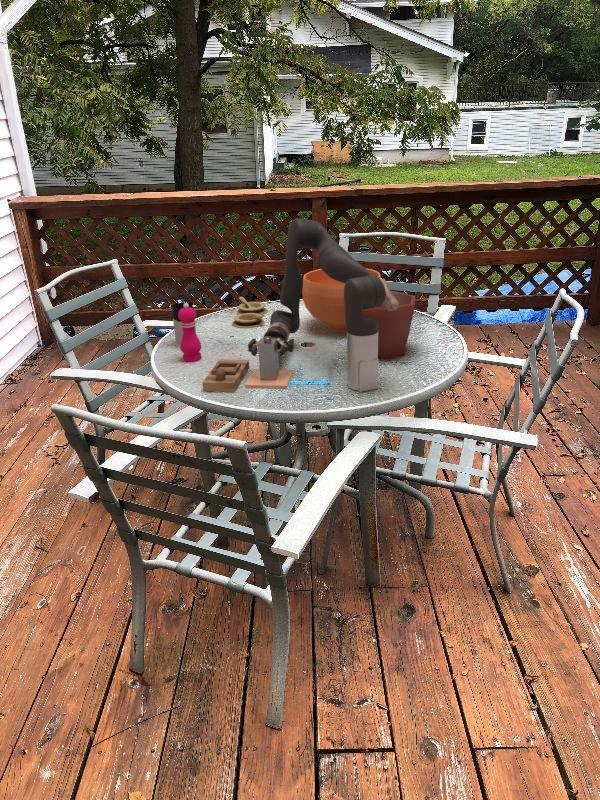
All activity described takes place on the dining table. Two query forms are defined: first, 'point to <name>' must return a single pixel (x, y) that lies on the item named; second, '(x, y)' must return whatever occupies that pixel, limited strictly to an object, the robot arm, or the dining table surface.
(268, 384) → the coaster
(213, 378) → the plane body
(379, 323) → the bucket
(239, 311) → the tableware set
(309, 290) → the bowl
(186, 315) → the pepper mill
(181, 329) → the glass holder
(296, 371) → the dining table surface
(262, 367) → the grey square grinder
